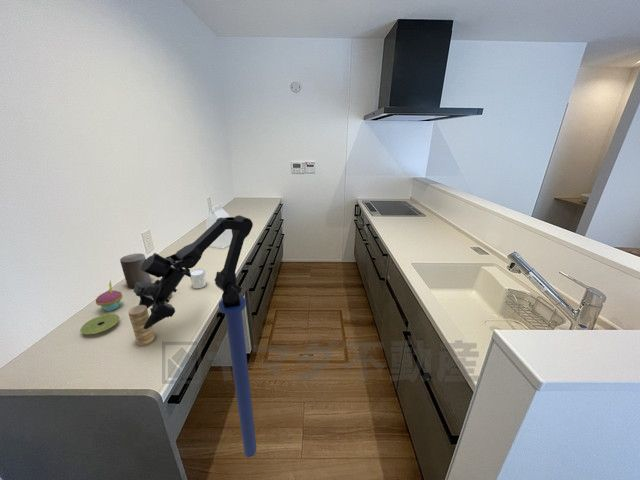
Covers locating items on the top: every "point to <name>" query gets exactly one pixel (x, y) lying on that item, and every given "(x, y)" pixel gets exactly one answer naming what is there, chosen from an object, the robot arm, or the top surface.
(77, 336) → the top surface
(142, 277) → the pillar candle
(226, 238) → the milk
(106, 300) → the cupcake
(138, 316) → the chip column
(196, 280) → the white short cylinder
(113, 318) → the green disc
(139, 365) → the top surface
